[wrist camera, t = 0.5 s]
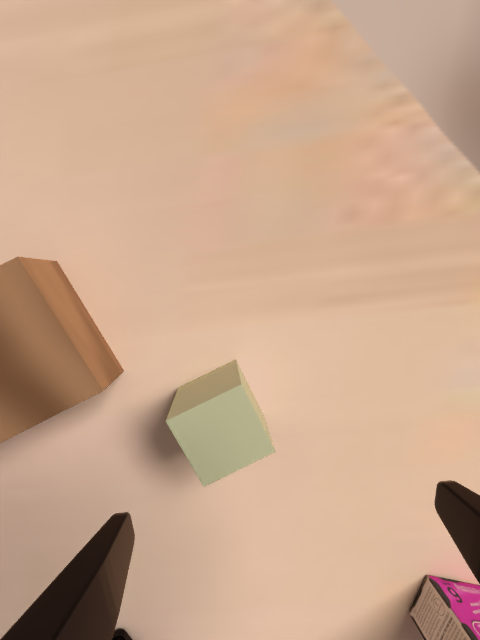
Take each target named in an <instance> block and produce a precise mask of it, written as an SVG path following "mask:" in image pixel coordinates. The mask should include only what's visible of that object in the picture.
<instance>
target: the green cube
mask: <svg viewBox="0 0 480 640" xmlns="http://www.w3.org/2000/svg"><path fill="white" fill-rule="evenodd" d="M166 423H167V425H168V426H169V428H170V430H171V431H172V433H173V435H174V437H175V438H176V440H177V442H178V444H179V445H180V447H181V449H182V450H183V452H184V454H185V456H186V457H187V459H188V461H189V462H190V464H191V466H192V468H193V469H194V471H195V473H196V475H197V476H198V478H199V480H200V481H201V483H202V485H203V487H205V486H207V485H209V484H211V483H213V482H215V481H217V480H219V479H221V478H223V477H225V476H227V475H229V474H231V473H233V472H235V471H237V470H239V469H241V468H243V467H246V466H248V465H250V464H252V463H254V462H256V461H258V460H260V459H262V458H264V457H266V456H268V455H270V454H272V453H274V452H276V451H275V448H274V445H273V442H272V439H271V436H270V433H269V430H268V427H267V424H266V421H265V418H264V415H263V413H262V411H261V409H260V407H259V405H258V403H257V401H256V399H255V397H254V395H253V393H252V391H251V389H250V387H249V385H248V383H247V381H246V379H245V377H244V375H243V373H242V371H241V369H240V367H239V365H238V363H237V361H236V360H234V361H232V362H230V363H228V364H226V365H224V366H222V367H220V368H218V369H216V370H214V371H212V372H210V373H208V374H206V375H203V376H201V377H199V378H197V379H195V380H193V381H191V382H189V383H187V384H185V385H183V386H181V387H179V388H178V389H177V392H176V395H175V397H174V400H173V403H172V405H171V408H170V411H169V413H168V416H167V419H166Z"/></svg>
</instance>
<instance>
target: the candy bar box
mask: <svg viewBox="0 0 480 640" xmlns="http://www.w3.org/2000/svg"><path fill="white" fill-rule="evenodd" d="M410 616H411V617H412V619H413V621H414V622H415V624H416V626H417V628H418V629H419V631H420V633H421V634H422V636H423V638H424V640H480V586H479V585H475V584H470V583H464V582H459V581H454V580H449V579H444V578H440V577H434V576H430V575H427V576H426V578H425V579H424V581H423V583H422V585H421V588H420V591H419V593H418V596H417V598H416V600H415V602H414V604H413V606H412V609H411V611H410Z"/></svg>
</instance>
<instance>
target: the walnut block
mask: <svg viewBox="0 0 480 640" xmlns="http://www.w3.org/2000/svg"><path fill="white" fill-rule="evenodd" d="M123 371H124V370H123V368H122V367H121V365H120V363H119V362H118V360H117V359H116V357H115V355H114V354H113V352H112V350H111V349H110V347H109V345H108V344H107V342H106V341H105V339H104V337H103V336H102V334H101V332H100V331H99V329H98V328H97V326H96V324H95V323H94V321H93V319H92V318H91V316H90V314H89V313H88V311H87V310H86V308H85V306H84V305H83V303H82V301H81V300H80V298H79V297H78V295H77V293H76V292H75V290H74V288H73V287H72V285H71V283H70V282H69V280H68V279H67V277H66V275H65V274H64V272H63V270H62V269H61V267H60V265H59V264H58V262H57V261H49V260H40V259H32V258H24V257H16V258H14V259H12V260H10V261H8V262H6V263H4V264H2V265H0V443H1V442H3V441H5V440H7V439H9V438H11V437H13V436H15V435H17V434H19V433H21V432H23V431H25V430H27V429H29V428H31V427H33V426H35V425H37V424H38V423H40V422H42V421H44V420H46V419H48V418H50V417H52V416H54V415H56V414H58V413H60V412H62V411H64V410H66V409H68V408H70V407H72V406H74V405H76V404H78V403H80V402H82V401H84V400H86V399H88V398H90V397H92V396H94V395H96V394H98V393H100V392H102V391H103V390H104V389H105V388H106V387H107V386H109V385H110V384H111V383H112V382H113V381H114V380H115V379H116V378H117V377H118V376H119V375H120V374H121V373H122V372H123Z"/></svg>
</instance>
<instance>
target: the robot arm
mask: <svg viewBox="0 0 480 640" xmlns="http://www.w3.org/2000/svg"><path fill="white" fill-rule="evenodd" d="M435 508H436V511H437V513H438V515H439V517H440V518H441V520H442V522H443V523H444V525H445V527H446V529H447V530H448V532H449V534H450V535H451V537H452V539H453V541H454V542H455V544H456V546H457V547H458V549H459V551H460V552H461V554H462V556H463V558H464V559H465V561H466V563H467V564H468V566H469V568H470V569H471V571H472V573H473V574H474V576H475V577H476V579H477V580H478V582H479V583H480V495H478V494H476V493H475V492H473V491H471V490H469V489H468V488H466V487H464V486H462V485H461V484H459V483H457V482H455V481H441V482H439V483H438V484H437V488H436V496H435ZM134 539H135V534H134V529H133V525H132V520H131V516H130V514H129V513H128V512H125V513H116V514H114V515H113V516H111V518H110V519H109V520H108V521H107V522H106V523H105V524H104V525H103V526H102V527H101V529H100V530H99V531H98V532H97V533H96V534H95V535H94V536H93V537H92V539H91V540H90V541H89V542H88V543H87V544H86V545H85V546H84V547H83V549H82V550H81V551H80V552H79V553H78V554H77V555H76V556H75V557H74V559H73V560H72V561H71V562H70V563H69V564H68V565H67V566H66V567H65V568H64V570H63V571H62V572H61V573H60V574H59V575H58V576H57V577H56V578H55V580H54V581H53V582H52V583H51V584H50V585H49V586H48V587H47V588H46V590H45V591H44V592H43V593H42V594H41V595H40V596H39V597H38V598H37V600H36V601H35V602H34V603H33V604H32V605H31V606H30V607H29V608H28V609H27V611H26V612H25V613H24V614H23V615H22V616H21V617H20V618H19V619H18V621H17V622H16V623H15V624H14V625H13V626H12V627H11V628H10V629H9V631H8V632H7V633H6V634H5V635H4V636H3V637H2V638H1V639H0V640H132V639H131V638H130V636H129V635H128V634H127V632H126V631H125V630H118V631H116V632H114V630H115V626H116V623H117V619H118V615H119V611H120V607H121V602H122V598H123V593H124V588H125V584H126V579H127V574H128V569H129V565H130V560H131V555H132V551H133V546H134Z"/></svg>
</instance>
